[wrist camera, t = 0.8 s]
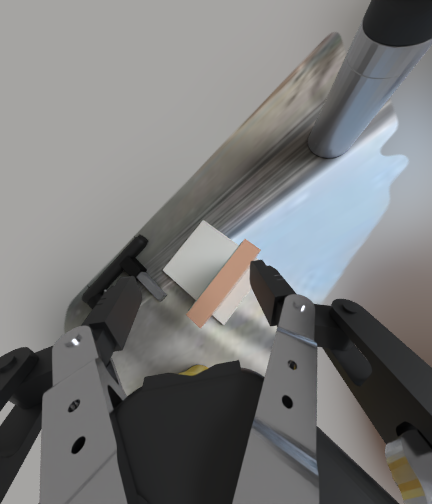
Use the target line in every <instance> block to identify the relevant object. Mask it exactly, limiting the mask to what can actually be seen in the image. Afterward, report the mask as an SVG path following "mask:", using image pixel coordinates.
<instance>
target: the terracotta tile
mask: <svg viewBox="0 0 432 504" xmlns="http://www.w3.org/2000/svg"><path fill="white" fill-rule="evenodd" d="M259 252H260V249H259V248H257V247H256V246H255V245H253V244H252V243H250V242H249V241H247V240H246V239H245V240H244V241H243V242H241V244H240V245H239V246H238V247H237V249H236V250H235V251H234V253H233V254H232V255H231V256H230V258H229V259H228V260H227V262H226V263H225V264H224V265H223V267H222V268H221V269H220V271H219V272H218V273H217V274H216V276H215V277H214V278H213V280H212V281H211V282H210V283H209V285H208V286H207V287H206V289H205V290H204V291H203V292H202V294H201V295H200V296H199V297H198V299H197V300H196V301H195V303H194V304H193V305H192V306H191V308H190V309H189V310H188V313H187V314H186V315H187V316H188V317H189V318H190V319H191V320H192V321H193V322H194V323H195V324H196V325H197V326H198V327H199V328H201V327H202V326H203V325H204V324H205V323H206V322H207V321H208V320H209V319H210V318H211V316H212V315H213V314H214V313H215V312H216V311H217V310H218V309H219V307H220V306H221V305H222V303H223V302H224V301H225V299H226V298H227V297H228V295H229V294H230V293H231V292H232V290H233V289H234V288H235V286H236V285H237V284H238V282H239V281H240V280H241V279H242V277H243V276H244V275H245V273H246V272H247V271H248V269H249V268H250V262H251V261H255V259H256V257H257V256H258V254H259Z"/></svg>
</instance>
